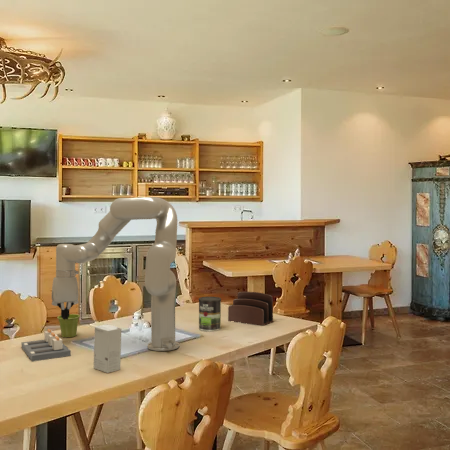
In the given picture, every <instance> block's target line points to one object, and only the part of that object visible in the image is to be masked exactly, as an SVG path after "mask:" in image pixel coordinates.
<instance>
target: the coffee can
mask: <svg viewBox="0 0 450 450" xmlns="http://www.w3.org/2000/svg"><path fill="white" fill-rule="evenodd" d="M221 322H222V298H221V297H218V296H202V297H198V330H199V331H201V332H217V331H220V330H221V329H222V327H221V326H222V323H221Z"/></svg>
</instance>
